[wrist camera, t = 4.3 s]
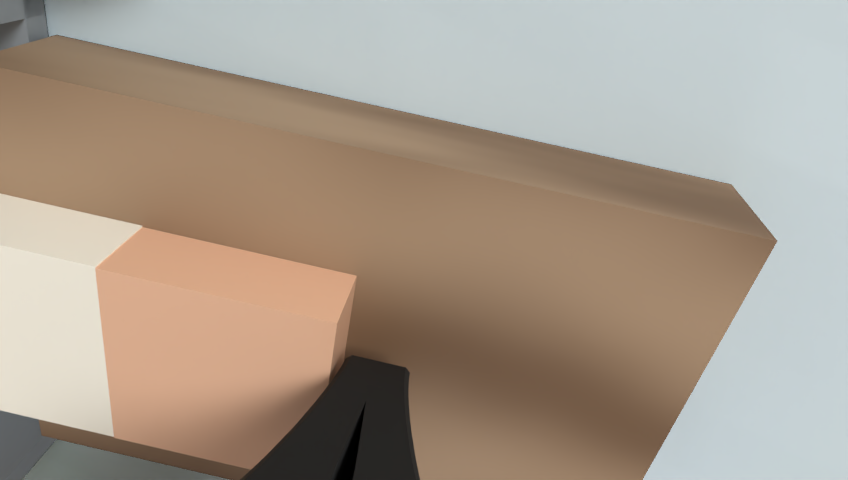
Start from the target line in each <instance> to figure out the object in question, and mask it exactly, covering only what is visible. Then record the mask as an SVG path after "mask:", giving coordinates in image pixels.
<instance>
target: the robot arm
mask: <svg viewBox="0 0 848 480" xmlns="http://www.w3.org/2000/svg"><path fill="white" fill-rule="evenodd" d="M409 376H410V372H409V371H408V370H407V368H406V367H402V366H398V365H393V364H389V363H385V362H380V361H376V360H372V359H367V358H363V357H359V356H354V355H351V356H349V357H347V358H346V359H345V361H344V362H343V364H342V366H341V368H340V369H339V371H338V372H337V374H336V375H335V377H334V378H333V379H332V381H331V382H330V383H329V385H328V386H327V388H326V389H325V390H324V391H323V393H322V394H321V395H320V397H319V398H318V399H317V400H316V401H315V403H314V404H313V405H312V406H311V407H310V408H309V410H308V411H307V412H306V413H305V414H304V416H303V417H302V418H301V419H300V420H299V421H298V423H297V424H296V425H295V426H294V427H293V428H292V429H291V430H290V431H289V432H288V433H287V434H286V435H285V436H284V437H283V438H282V440H281V441H280V442H279V443H278V444H277V445H276V446H275V447H274V448H273V449H272V450H271V451H270V452H269V453H268V454H267V455H266V456H265V457H264V458H263V459H262V460H261V461H260V462H259V463H258V464H257V465H256V466H254V467H253V468H252V469H251V470H250V471H249V472H248V473H247V474H246V475H245V476H244V477H242V478H241V479H240V480H420V477H419V472H418V467H417V462H416V457H415V450H414V444H413V438H412V431H411V423H410V412H409Z"/></svg>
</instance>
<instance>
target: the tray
mask: <svg viewBox="0 0 848 480" xmlns="http://www.w3.org/2000/svg"><path fill="white" fill-rule="evenodd" d="M47 37H48V31H47V23H46V15H45V8H44V0H0V51H1V50H4V49H8V48H11V47H15V46H19V45H22V44H26V43H29V42H33V41H37V40H40V39H44V38H47ZM55 440H56V439H54V438H50V437H46V436H42V435H41V430H40V425H39V420H38V419H35V418H31V417H27V416H22V415H18V414H14V413H9V412H5V411H1V410H0V480H22V479H23V478H24V477H25V475H26V474H27V473H28V472H29V471H30V470H31V468H32V467H33V466H34V465H35V464H36V463H37V461H38V460H39V459H40V458H41V457H42V456H43V454H44V453H45V452H46V451H47V450H48V448H49V447H50V446H51V445H52V444H53V443H54V441H55Z"/></svg>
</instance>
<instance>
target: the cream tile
mask: <svg viewBox="0 0 848 480" xmlns="http://www.w3.org/2000/svg"><path fill="white" fill-rule="evenodd" d="M141 228H142V226H141V225H137V224H132V223H128V222H123V221H119V220H115V219H110V218H106V217H101V216H97V215H93V214H88V213H84V212H79V211H75V210H71V209H66V208H62V207H57V206H53V205H49V204H44V203H40V202H35V201H31V200H27V199H22V198H18V197H13V196H9V195H4V194H0V410H1V411H5V412H9V413H14V414H18V415H22V416H27V417H31V418H35V419H39V420H44V421H48V422H52V423H57V424H61V425H65V426H69V427H74V428H78V429H82V430H87V431H91V432H95V433H100V434H104V435H108V436H112V437H114V433H113V424H112V415H111V406H110V397H109V388H108V379H107V370H106V361H105V353H104V344H103V335H102V326H101V317H100V308H99V299H98V290H97V281H96V272H95V268H96V267H97V266H98V265H99V264H100V263H102V262H103V261H104V260H105V259H106V258H107V257H108V256H110V255H111V254H112V253H113V252H114V251H115V250H116V249H118V248H119V247H120V246H121V245H122V244H123V243H125V242H126V241H127V240H128V239H129V238H130V237H131V236H133V235H134V234H135V233H136V232H137V231H138V230H140V229H141Z"/></svg>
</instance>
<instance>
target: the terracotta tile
mask: <svg viewBox="0 0 848 480" xmlns="http://www.w3.org/2000/svg"><path fill="white" fill-rule="evenodd" d="M95 272H96V281H97V290H98V299H99V308H100V317H101V326H102V335H103V344H104V353H105V361H106V370H107V379H108V388H109V397H110V406H111V415H112V424H113V433H114V438H117V439H121V440H126V441H130V442H134V443H139V444H143V445H147V446H151V447H156V448H160V449H164V450H169V451H173V452H177V453H181V454H186V455H190V456H194V457H199V458H203V459H207V460H212V461H216V462H220V463H224V464H229V465H233V466H237V467H242V468H246V469H250V470H251V469H252V468H253V467H254V466H256V465H257V464H258V463H259V462H260V461H261V460H262V459H263V458H264V457H265V456H266V455H267V454H268V453H269V452H270V451H271V450H272V449H273V448H274V447H275V446H276V445H277V444H278V443H279V442H280V441H281V440H282V438H283V437H284V436H285V435H286V434H287V433H288V432H289V431H290V430H291V429H292V428H293V427H294V426H295V425H296V424H297V423H298V421H299V420H300V419H301V418H302V417H303V416H304V414H305V413H306V412H307V411H308V410H309V408H310V407H311V406H312V405H313V404H314V403H315V401H316V400H317V399H318V398H319V397H320V395H321V394H322V393H323V391H324V390H325V389H326V388H327V386H328V385H329V383H330V382H331V381H332V379H333V378H334V377H335V375H336V374H337V372H338V371H339V369H340V368H341V366H342V364H343V362H344V355H345V349H346V342H347V336H348V330H349V323H350V317H351V310H352V304H353V297H354V291H355V285H356V278H357V276H356V275H351V274H347V273H342V272H338V271H334V270H329V269H325V268H320V267H316V266H312V265H307V264H303V263H298V262H294V261H290V260H285V259H281V258H276V257H272V256H268V255H263V254H259V253H254V252H250V251H246V250H241V249H237V248H232V247H228V246H224V245H219V244H215V243H210V242H206V241H202V240H197V239H193V238H188V237H184V236H179V235H175V234H171V233H166V232H162V231H157V230H153V229H149V228H144V227H142V228H141V229H140V230H138V231H137V232H136V233H135V234H134V235H133V236H131V237H130V238H129V239H128V240H127V241H126V242H125V243H123V244H122V245H121V246H120V247H119V248H118V249H116V250H115V251H114V252H113V253H112V254H111V255H110V256H108V257H107V258H106V259H105V260H104V261H103V262H102V263H100V264H99V265H98V266H97V267H96V268H95Z"/></svg>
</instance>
